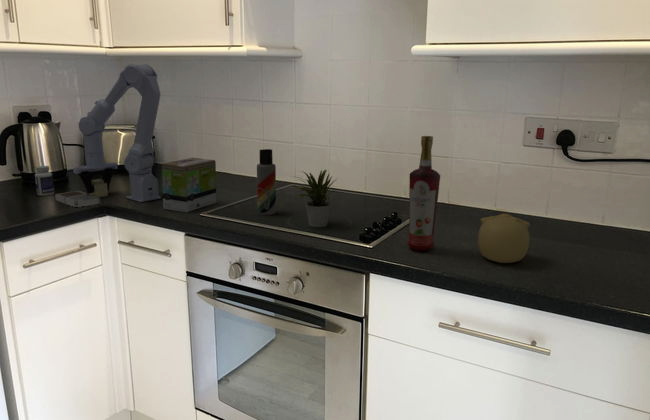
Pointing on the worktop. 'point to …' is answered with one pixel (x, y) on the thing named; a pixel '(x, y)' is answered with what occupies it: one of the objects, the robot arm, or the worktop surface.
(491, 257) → the sculpture
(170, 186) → the tea box
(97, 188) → the block
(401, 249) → the worktop surface
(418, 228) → the liquor
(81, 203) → the grey flat frame
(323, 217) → the house plant
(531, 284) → the worktop surface
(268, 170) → the lotion bottle
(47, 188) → the pill bottle
